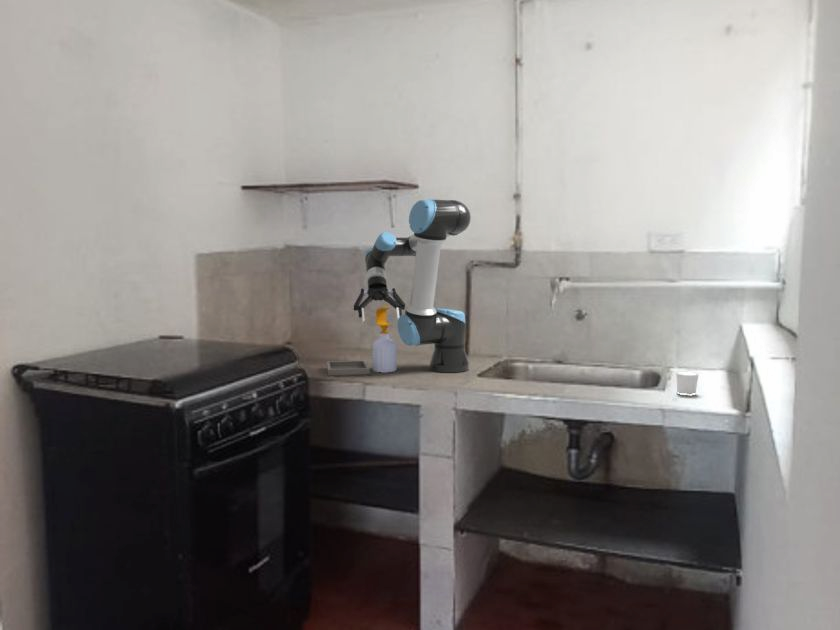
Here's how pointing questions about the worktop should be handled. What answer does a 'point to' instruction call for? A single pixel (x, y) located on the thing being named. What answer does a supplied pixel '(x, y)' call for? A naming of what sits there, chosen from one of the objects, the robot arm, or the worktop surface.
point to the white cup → (686, 382)
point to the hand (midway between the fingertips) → (381, 323)
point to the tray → (347, 368)
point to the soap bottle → (383, 346)
